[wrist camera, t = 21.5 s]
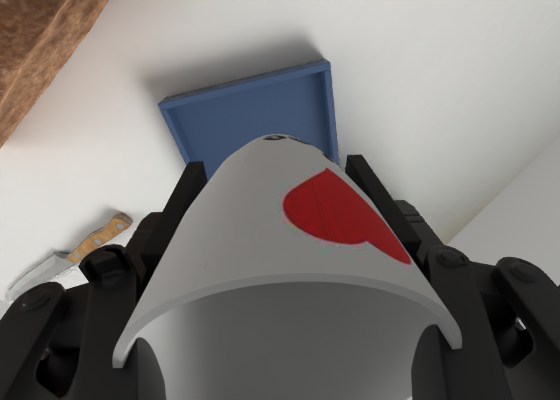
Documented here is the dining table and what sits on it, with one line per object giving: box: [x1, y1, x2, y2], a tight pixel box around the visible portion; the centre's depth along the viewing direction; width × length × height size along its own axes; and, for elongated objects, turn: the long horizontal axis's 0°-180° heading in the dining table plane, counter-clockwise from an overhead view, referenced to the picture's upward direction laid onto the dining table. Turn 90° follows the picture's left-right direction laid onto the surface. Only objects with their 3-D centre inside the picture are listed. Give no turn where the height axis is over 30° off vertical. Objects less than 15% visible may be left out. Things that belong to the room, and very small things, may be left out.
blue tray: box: [158, 59, 339, 182], centre depth 29 cm, size 16×16×2 cm
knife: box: [6, 214, 133, 302], centre depth 38 cm, size 31×1×3 cm
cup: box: [112, 134, 462, 400], centre depth 11 cm, size 8×8×10 cm
